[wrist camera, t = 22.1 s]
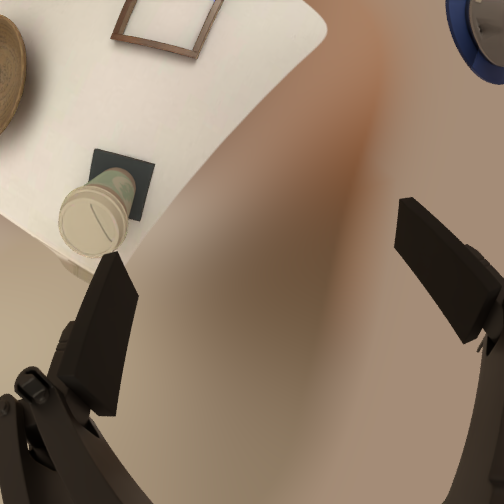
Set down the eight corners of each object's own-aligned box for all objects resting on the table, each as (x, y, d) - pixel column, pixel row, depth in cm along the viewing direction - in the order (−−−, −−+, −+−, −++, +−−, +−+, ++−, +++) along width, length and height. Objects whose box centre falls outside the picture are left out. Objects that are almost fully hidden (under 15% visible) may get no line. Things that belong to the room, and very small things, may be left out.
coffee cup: (141, 218, 42) (121, 268, 32) (88, 208, 40) (56, 254, 30) (149, 163, 38) (127, 200, 28) (92, 153, 36) (53, 187, 26)
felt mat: (155, 164, 39) (154, 165, 38) (140, 219, 43) (139, 221, 43) (95, 148, 36) (94, 149, 35) (86, 204, 40) (84, 206, 40)
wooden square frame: (231, -16, 26) (232, -20, 24) (197, 59, 31) (196, 58, 30) (148, -34, 23) (145, -39, 21) (114, 39, 28) (110, 38, 26)
